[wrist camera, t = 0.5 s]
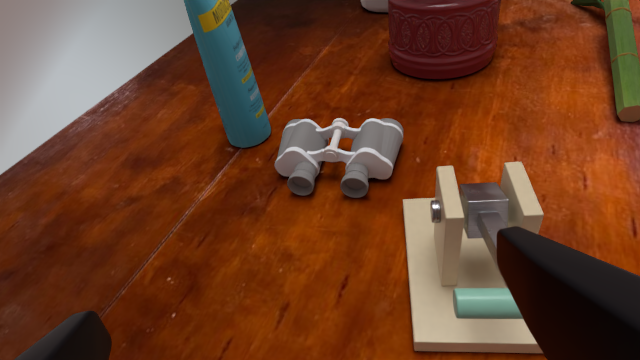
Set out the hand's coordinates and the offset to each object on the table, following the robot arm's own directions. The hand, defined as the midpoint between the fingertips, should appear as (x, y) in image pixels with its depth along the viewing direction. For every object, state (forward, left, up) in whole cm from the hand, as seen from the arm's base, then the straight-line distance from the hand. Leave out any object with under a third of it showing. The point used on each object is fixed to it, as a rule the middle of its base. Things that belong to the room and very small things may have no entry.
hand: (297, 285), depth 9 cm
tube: (+33, +5, -18) cm, 38 cm away
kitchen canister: (+41, -20, -18) cm, 50 cm away
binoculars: (+24, -3, -18) cm, 30 cm away
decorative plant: (+34, -38, -18) cm, 54 cm away
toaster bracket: (+10, -10, -18) cm, 23 cm away
